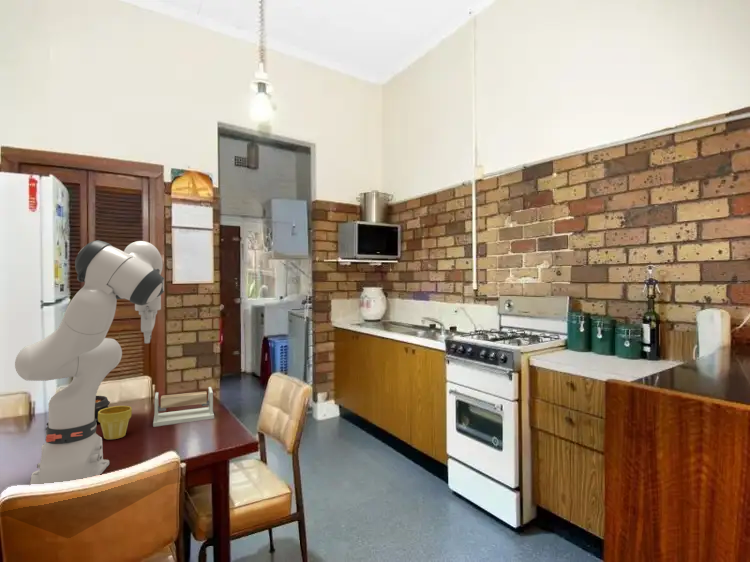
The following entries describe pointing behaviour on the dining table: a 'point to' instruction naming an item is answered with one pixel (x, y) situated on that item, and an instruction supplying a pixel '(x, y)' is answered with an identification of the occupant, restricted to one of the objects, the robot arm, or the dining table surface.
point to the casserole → (99, 405)
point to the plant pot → (114, 421)
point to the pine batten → (183, 399)
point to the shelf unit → (183, 413)
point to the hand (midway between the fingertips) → (147, 341)
